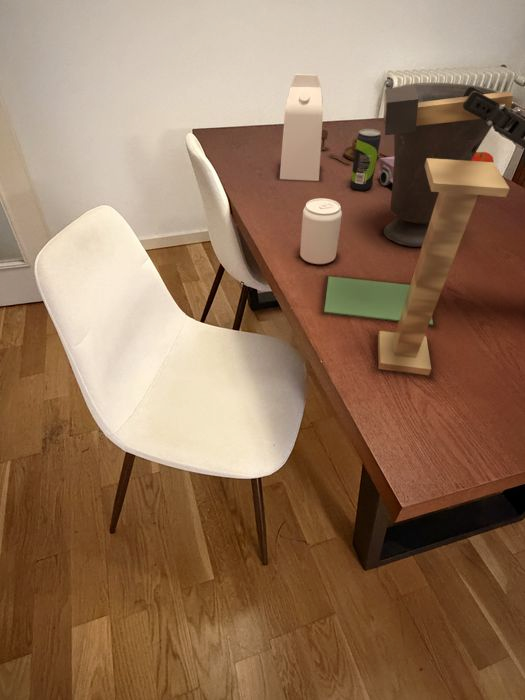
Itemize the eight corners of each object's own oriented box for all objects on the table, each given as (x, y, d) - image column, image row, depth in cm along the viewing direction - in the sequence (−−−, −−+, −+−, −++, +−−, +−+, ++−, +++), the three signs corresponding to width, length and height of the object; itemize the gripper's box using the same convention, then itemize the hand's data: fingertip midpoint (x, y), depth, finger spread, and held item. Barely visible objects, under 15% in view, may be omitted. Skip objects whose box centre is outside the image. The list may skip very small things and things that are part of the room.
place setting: (350, 167, 130) (353, 147, 126) (315, 148, 143) (317, 130, 138) (391, 158, 136) (395, 139, 132) (354, 141, 149) (357, 123, 144)
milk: (319, 166, 130) (328, 70, 112) (318, 180, 122) (328, 79, 104) (282, 165, 131) (285, 69, 113) (279, 179, 123) (282, 78, 105)
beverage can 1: (293, 252, 92) (296, 202, 84) (322, 244, 95) (328, 194, 86) (312, 270, 87) (317, 217, 79) (342, 260, 90) (350, 209, 81)
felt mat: (426, 288, 82) (426, 286, 82) (432, 325, 74) (433, 324, 74) (328, 277, 85) (328, 276, 85) (323, 312, 76) (324, 311, 76)
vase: (472, 237, 97) (530, 93, 76) (422, 270, 87) (473, 114, 66) (397, 207, 109) (429, 75, 88) (345, 233, 99) (367, 91, 78)
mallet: (500, 106, 57) (507, 72, 55) (514, 121, 52) (523, 85, 49) (383, 119, 61) (384, 89, 58) (384, 135, 55) (386, 102, 53)
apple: (465, 183, 121) (479, 144, 113) (490, 193, 116) (506, 153, 108) (446, 189, 117) (459, 150, 110) (471, 200, 112) (486, 159, 105)
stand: (424, 342, 71) (493, 162, 49) (428, 375, 65) (510, 188, 44) (377, 336, 72) (426, 157, 50) (378, 369, 66) (433, 182, 45)
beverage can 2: (375, 189, 118) (386, 133, 107) (357, 193, 116) (367, 136, 105) (362, 181, 122) (372, 127, 111) (345, 185, 120) (353, 130, 109)
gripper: (577, 112, 58) (476, 56, 56) (619, 142, 49) (498, 75, 46) (534, 161, 64) (440, 111, 61) (564, 197, 54) (454, 139, 52)
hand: (466, 96), depth 54 cm, fingers closed on mallet, 2 cm apart
